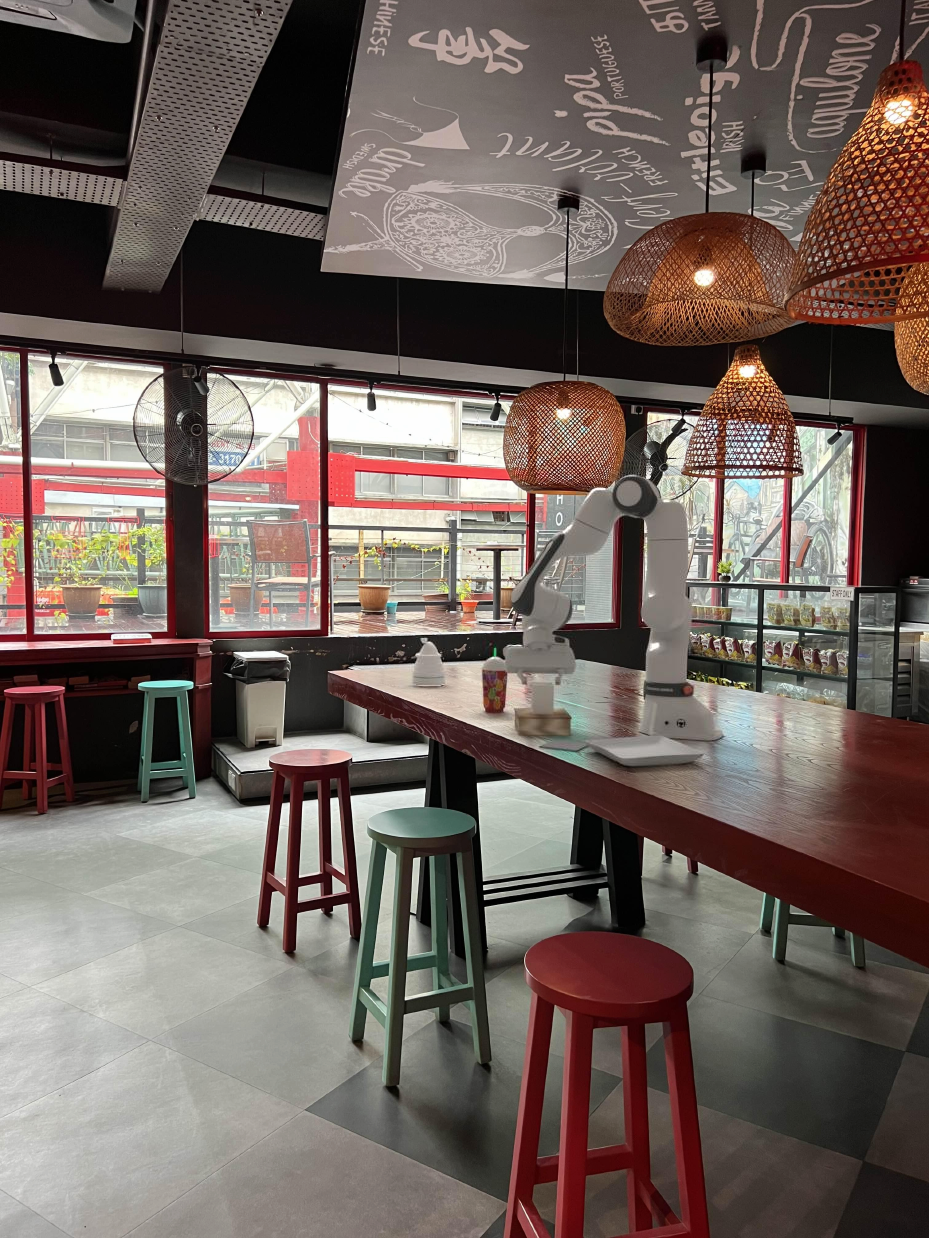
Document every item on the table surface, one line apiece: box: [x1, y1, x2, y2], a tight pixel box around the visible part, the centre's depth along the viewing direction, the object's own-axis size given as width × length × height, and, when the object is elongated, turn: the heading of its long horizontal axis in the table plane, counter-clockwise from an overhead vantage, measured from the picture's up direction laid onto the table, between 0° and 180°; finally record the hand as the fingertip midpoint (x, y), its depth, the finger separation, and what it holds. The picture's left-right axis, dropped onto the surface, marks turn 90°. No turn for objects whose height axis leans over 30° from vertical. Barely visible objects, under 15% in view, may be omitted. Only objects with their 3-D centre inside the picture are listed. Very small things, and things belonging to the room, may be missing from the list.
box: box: [513, 707, 572, 736], centre depth 238 cm, size 14×14×8 cm
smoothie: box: [481, 647, 509, 714], centre depth 270 cm, size 8×8×20 cm
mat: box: [538, 738, 589, 753], centre depth 217 cm, size 10×10×1 cm
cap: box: [530, 681, 555, 714], centre depth 238 cm, size 6×6×8 cm
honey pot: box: [411, 637, 446, 685], centre depth 333 cm, size 13×13×18 cm
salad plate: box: [585, 735, 705, 767], centre depth 204 cm, size 21×21×3 cm
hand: (541, 683), depth 241 cm, fingers open, 8 cm apart
